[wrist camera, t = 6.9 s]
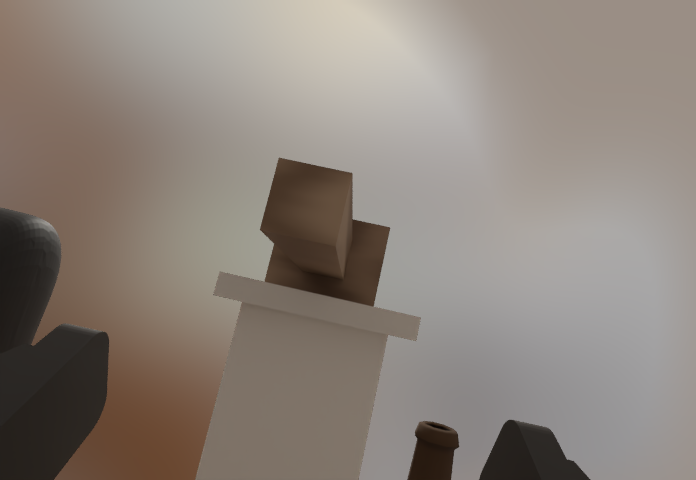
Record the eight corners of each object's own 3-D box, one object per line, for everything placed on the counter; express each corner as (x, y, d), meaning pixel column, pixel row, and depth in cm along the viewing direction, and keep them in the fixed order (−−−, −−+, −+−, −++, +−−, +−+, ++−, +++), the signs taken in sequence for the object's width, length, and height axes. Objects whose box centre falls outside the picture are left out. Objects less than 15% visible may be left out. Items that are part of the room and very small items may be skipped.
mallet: (187, 253, 17) (228, 111, 18) (281, 290, 40) (297, 226, 41) (391, 299, 17) (421, 150, 18) (368, 310, 39) (382, 245, 40)
